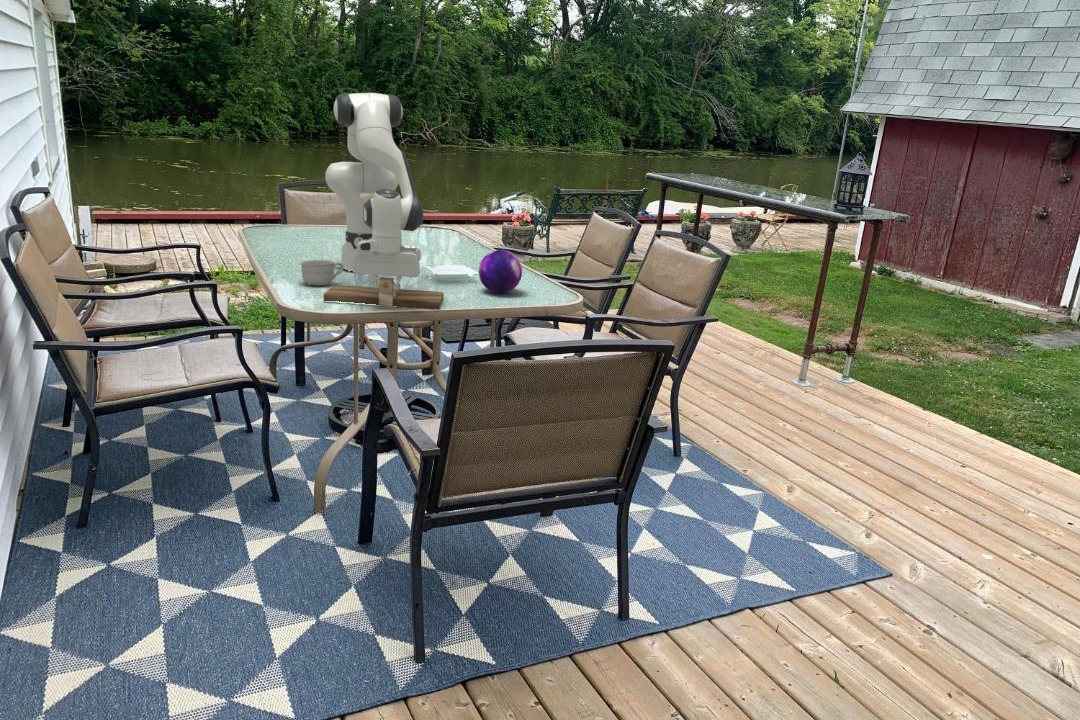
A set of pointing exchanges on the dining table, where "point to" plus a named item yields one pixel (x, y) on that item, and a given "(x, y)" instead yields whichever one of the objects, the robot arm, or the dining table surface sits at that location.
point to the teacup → (319, 271)
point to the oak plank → (372, 296)
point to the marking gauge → (387, 292)
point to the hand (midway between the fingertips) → (386, 289)
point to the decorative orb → (500, 271)
